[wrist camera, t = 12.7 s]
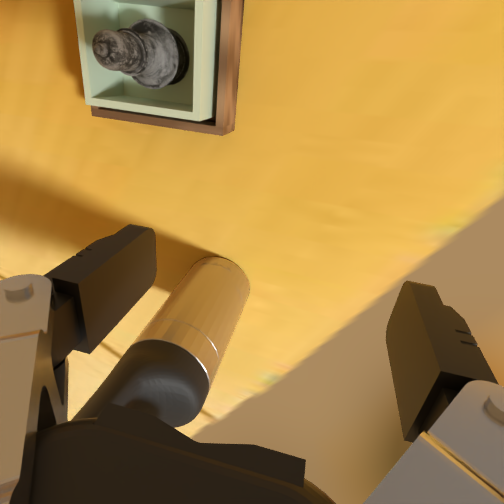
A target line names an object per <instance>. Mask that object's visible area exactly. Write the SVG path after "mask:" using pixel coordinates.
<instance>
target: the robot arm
mask: <svg viewBox="0 0 504 504" xmlns="http://www.w3.org/2000/svg"><path fill="white" fill-rule="evenodd" d="M156 270H157V268H156V239H155V232H154V230H153V229H152V228H147V227H142V226H137V225H132V224H129V225H127V226H126V227H124V228H123V229H121V230H120V231H118V232H117V233H116V234H114V235H111V236H108V237H105V238H102V239H99V240H97V241H95V242H94V243H92V244H91V245H89V246H88V247H86V248H85V250H84V249H83V250H82V251H80V252H79V253H77V254H76V256H72V257H71V258H69V259H68V260H66V261H65V262H63V263H62V264H60V265H59V266H57V267H56V268H54V269H53V270H51V271H50V272H48V273H47V274H45V275H44V276H41V275H34V274H26V275H18V276H13V277H10V278H6V279H4V280H1V281H0V504H336V503H335V502H334V501H333V500H332V499H331V498H330V497H329V496H327V495H326V493H324V492H323V491H321V490H320V489H319V488H318V487H317V486H315V485H314V484H313V483H311V482H309V481H308V480H306V479H305V478H304V474H305V462H306V460H305V459H301V458H298V457H295V456H291V455H288V454H284V453H281V452H277V451H274V450H270V449H267V448H264V447H260V446H257V445H249V444H213V443H212V444H211V443H198V442H196V441H194V440H192V439H190V438H189V437H187V436H186V435H184V434H182V433H181V432H179V431H178V430H176V429H175V427H180V426H183V425H185V424H188V423H189V422H191V421H192V420H193V419H194V418H195V417H196V416H197V415H198V414H199V412H200V410H201V409H202V407H203V404H204V402H205V399H206V397H207V395H208V392H209V390H210V387H211V385H212V383H213V380H214V378H215V375H216V373H217V370H218V368H219V365H220V363H221V361H222V358H223V356H224V353H225V351H226V349H227V346H228V344H229V341H230V339H231V337H232V334H233V332H234V329H235V327H236V325H237V322H238V320H239V317H240V315H241V313H242V310H243V308H244V305H245V303H246V300H247V298H248V296H249V290H250V289H249V282H248V279H247V277H246V275H245V274H244V272H243V271H242V270H241V269H240V268H239V267H238V266H237V265H236V264H234V263H233V262H231V261H229V260H227V259H224V258H220V257H207V258H204V259H201V260H200V261H198V262H196V263H195V264H194V265H193V267H192V268H191V269H190V270H189V272H188V273H187V274H186V276H185V277H184V278H183V279H182V281H181V282H180V283H179V284H178V286H177V287H176V288H175V290H174V291H173V292H172V293H171V295H170V296H169V297H168V299H167V300H166V301H165V302H164V304H163V305H162V306H161V308H160V309H159V310H158V311H157V313H156V314H155V315H154V317H153V318H152V319H151V320H150V322H149V323H148V324H147V326H146V327H145V328H144V330H143V331H142V332H141V334H140V335H139V336H138V337H137V339H136V340H135V341H134V342H133V344H132V345H131V346H130V348H129V349H128V350H127V351H126V353H125V354H124V355H123V357H122V358H121V359H120V361H119V362H118V363H117V365H116V366H115V367H114V369H113V370H112V371H111V373H110V374H109V376H108V377H107V378H106V379H105V381H104V382H103V383H102V384H101V386H100V387H99V388H98V390H97V391H96V392H95V393H94V394H93V395H92V397H91V398H90V399H89V400H88V401H87V403H86V404H85V405H84V406H83V407H82V408H81V410H80V411H79V412H78V413H77V414H76V415H75V416H74V418H73V419H72V420H71V421H68V420H67V409H68V367H69V363H68V358H67V355H68V354H69V353H70V352H71V351H72V350H77V351H81V352H84V353H88V354H91V352H92V351H93V350H94V349H95V348H96V347H97V346H98V345H99V344H100V342H101V341H102V340H103V339H104V338H105V337H106V336H107V335H108V334H109V333H110V331H111V330H112V329H113V328H114V327H115V326H116V325H117V324H118V323H119V322H120V320H121V319H122V318H123V317H124V316H125V315H126V314H127V313H128V312H129V310H130V309H131V308H132V307H133V306H134V305H135V304H136V303H137V302H138V301H139V299H140V298H141V297H142V296H143V295H144V294H145V293H146V292H147V291H148V290H149V288H150V287H151V286H152V284H153V282H154V280H155V277H156ZM386 344H387V349H388V355H389V360H390V366H391V371H392V377H393V382H394V387H395V393H396V398H397V404H398V409H399V415H400V420H401V425H402V431H403V437H404V440H405V441H409V442H413V444H412V445H411V446H410V447H409V448H408V450H407V451H406V452H405V453H404V455H403V456H402V457H401V459H399V461H398V462H397V463H396V464H395V465H394V467H393V468H392V469H391V470H390V472H389V473H388V474H387V475H386V476H385V478H384V479H383V480H382V481H381V483H380V484H379V485H378V486H377V487H376V488H375V490H374V491H373V492H372V493H371V495H370V496H369V497H368V498H367V500H366V501H365V502H364V503H363V504H504V387H502V386H500V385H499V384H498V382H497V380H496V379H495V377H494V375H493V373H492V371H491V369H490V367H489V365H488V363H487V361H486V360H485V358H484V356H483V354H482V352H481V350H480V348H479V347H477V343H476V341H475V339H474V337H473V336H472V335H471V331H470V329H469V327H468V325H467V324H466V322H465V320H464V319H463V318H462V317H461V316H460V315H459V314H458V313H457V312H456V311H455V310H454V309H453V308H452V307H450V306H445V305H443V303H442V301H441V299H440V296H439V294H438V292H437V290H436V288H435V287H434V286H431V285H426V284H421V283H416V282H411V281H406V282H405V283H404V284H403V286H402V288H401V291H400V293H399V296H398V298H397V301H396V304H395V306H394V309H393V311H392V314H391V316H390V319H389V322H388V325H387V331H386Z"/></svg>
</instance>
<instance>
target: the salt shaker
mask: <svg viewBox="0 0 504 504" xmlns="http://www.w3.org/2000/svg"><path fill="white" fill-rule="evenodd" d="M92 50H93V54H94V56H95V58H96V60H97V61H98V63H99V64H100V65H101V66H102V67H104V68H106V69H108V70H112V71H121V72H122V73H123V74H125V75H128V76H131V77H132V78H133V79H134V80H135V81H136V82H137V83H138V84H140V85H142V86H144V87H146V88H150V89H159V88H163V87H165V86H167V85H174V84H176V83H178V82H180V81H181V80H182V79H183V78H184V77H185V75H186V73H187V72H188V68H189V62H190V56H189V50H188V47H187V45H186V42H185V41H184V39H183V38H182V37H181V35H179V34H178V33H177V32H176V31H174V30H172V29H170V28H166V27H165V26H164V25H163V24H162V23H160V22H158V21H156V20H153V19H147V18H145V19H140V20H137V21H136V22H134V23H132V24H131V25H130V27H129V28H121V29H119V30H117V31H113V30H108V29H105V30H100V31H98V32H97V33H96V34H95V35H94V38H93V41H92Z"/></svg>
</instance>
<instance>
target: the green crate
mask: <svg viewBox="0 0 504 504" xmlns="http://www.w3.org/2000/svg"><path fill="white" fill-rule="evenodd" d="M73 1H74V9H75V18H76V26H77V35H78V43H79V51H80V60H81V68H82V76H83V85H84V93H85V102H86V105H93V106H100V107H106V108H113V109H120V110H127V111H133V112H140V113H147V114H154V115H160V116H167V117H174V118H181V119H187V120H194V121H202V120H206V119H209V118H212V117H216V110H217V90H218V71H219V51H220V32H221V13H222V2H221V1H220V0H73ZM145 18H147V19H153V20H156V21H158V22H160V23H162V24H163V25H164V26H165V27H166V28H170V29H172V30H174V31H176V32H177V33H178V34H179V35H181V37H182V38H183V39H184V41H185V42H186V45H187V47H188V50H189V56H190V62H189V68H188V72H187V73H186V75H185V77H184V78H183V79H182V80H181V81H180V82H178V83H176V84H174V85H167V86H165V87H163V88H159V89H150V88H146V87H144V86H142V85H140V84H138V83H137V82H136V81H135V80H134V79H133V78H132V77H131V76H128V75H125V74H123V73H122V72H121V71H112V70H108V69H106V68H104V67H102V66H101V65H100V64H99V63H98V61H97V60H96V58H95V56H94V54H93V50H92V41H93V38H94V35H95V34H96V33H97V32H98V31H100V30H105V29H108V30H113V31H117V30H119V29H121V28H129V27H130V25H131V24H132V23H134V22H136V21H137V20H140V19H145Z"/></svg>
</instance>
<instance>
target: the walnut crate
mask: <svg viewBox="0 0 504 504" xmlns="http://www.w3.org/2000/svg"><path fill="white" fill-rule="evenodd" d="M220 1H221V2H222V13H221V32H220V51H219V71H218V90H217V110H216V117H212V118H209V119H206V120H202V121H194V120H187V119H181V118H174V117H167V116H160V115H154V114H147V113H140V112H133V111H127V110H120V109H113V108H106V107H100V106H93V105H91V111H92V116H96V117H103V118H109V119H116V120H122V121H129V122H135V123H142V124H149V125H155V126H162V127H168V128H175V129H181V130H188V131H194V132H201V133H207V134H214V135H221V136H223V135H225V134H227V133H229V132H232V131H234V128H235V115H236V102H237V89H238V76H239V63H240V50H241V37H242V24H243V11H244V0H220Z"/></svg>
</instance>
